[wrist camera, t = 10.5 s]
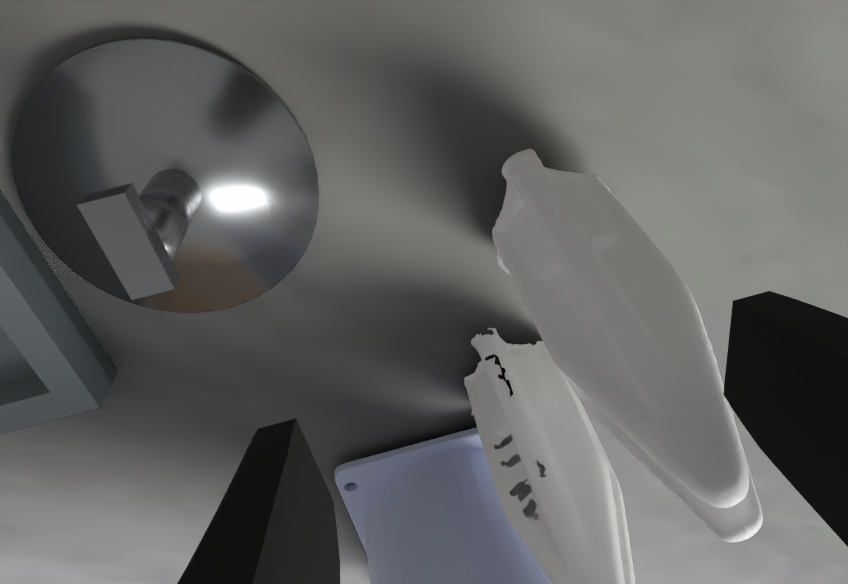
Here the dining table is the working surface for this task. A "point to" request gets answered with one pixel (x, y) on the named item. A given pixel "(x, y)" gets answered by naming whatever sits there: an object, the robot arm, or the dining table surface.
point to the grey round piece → (166, 175)
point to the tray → (42, 339)
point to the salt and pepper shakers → (599, 381)
